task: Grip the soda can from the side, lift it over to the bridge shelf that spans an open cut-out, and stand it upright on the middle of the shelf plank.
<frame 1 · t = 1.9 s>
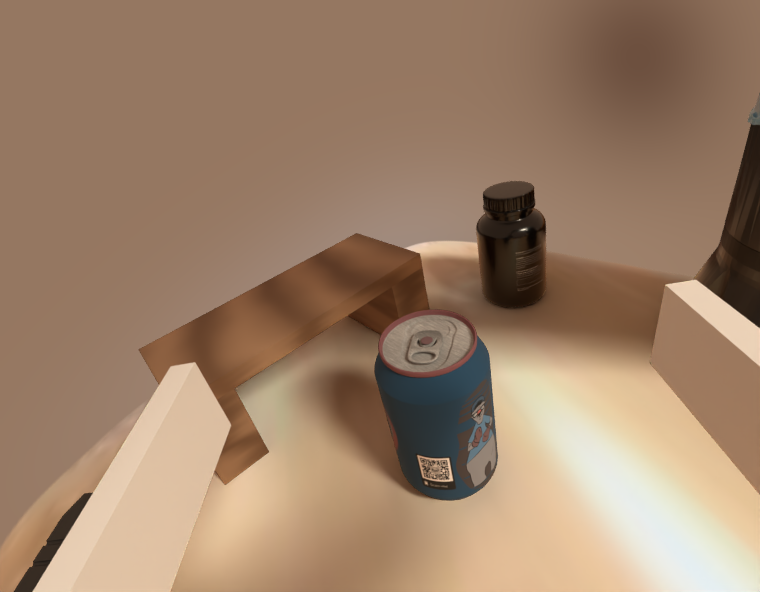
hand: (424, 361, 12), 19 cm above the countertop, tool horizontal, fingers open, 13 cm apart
soda can: (449, 465, 31), on the countertop
bridge shelf: (315, 371, 42), on the countertop
supplement bottle: (513, 293, 47), on the countertop
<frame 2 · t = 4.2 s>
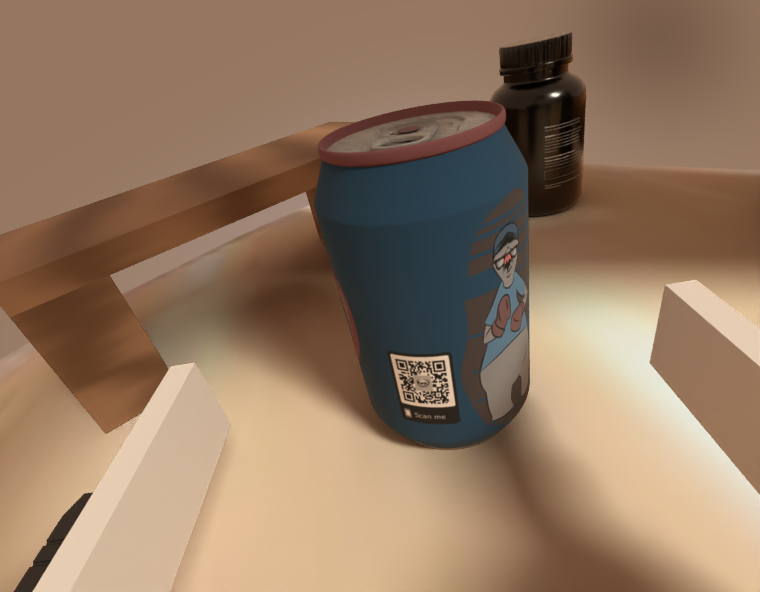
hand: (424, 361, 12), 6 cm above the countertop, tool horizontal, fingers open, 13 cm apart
soda can: (449, 400, 19), on the countertop
bridge shelf: (266, 295, 31), on the countertop
supplement bottle: (535, 204, 35), on the countertop
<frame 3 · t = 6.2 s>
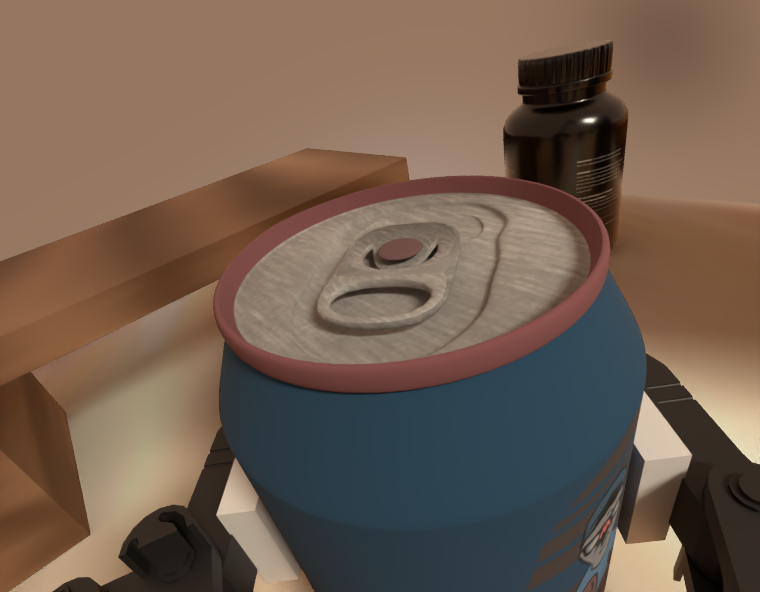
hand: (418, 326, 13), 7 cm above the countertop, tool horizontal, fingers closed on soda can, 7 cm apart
bridge shelf: (225, 371, 24), on the countertop
supplement bottle: (558, 247, 29), on the countertop
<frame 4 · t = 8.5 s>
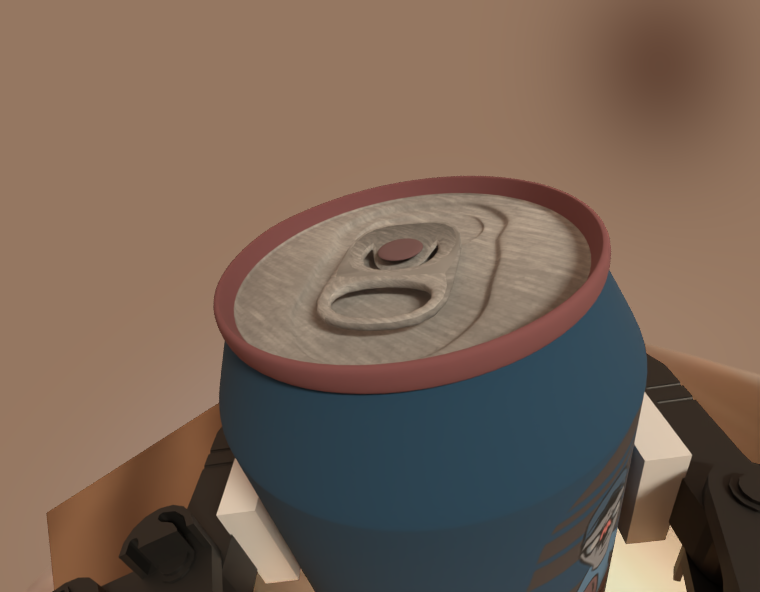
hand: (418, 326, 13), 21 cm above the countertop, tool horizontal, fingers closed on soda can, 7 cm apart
bridge shelf: (299, 509, 32), on the countertop
when the fingers open (17 cm above the countertop, at t = 10.9 s): soda can drops 1 cm, resting on bridge shelf.
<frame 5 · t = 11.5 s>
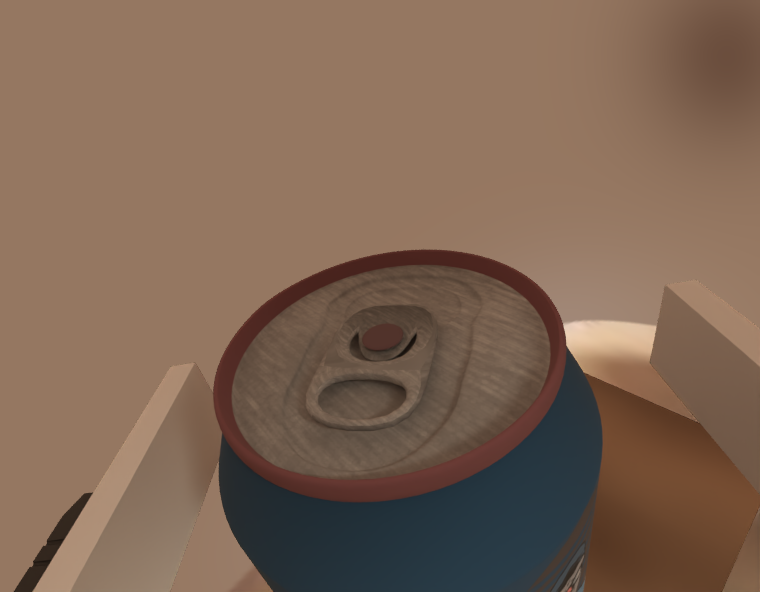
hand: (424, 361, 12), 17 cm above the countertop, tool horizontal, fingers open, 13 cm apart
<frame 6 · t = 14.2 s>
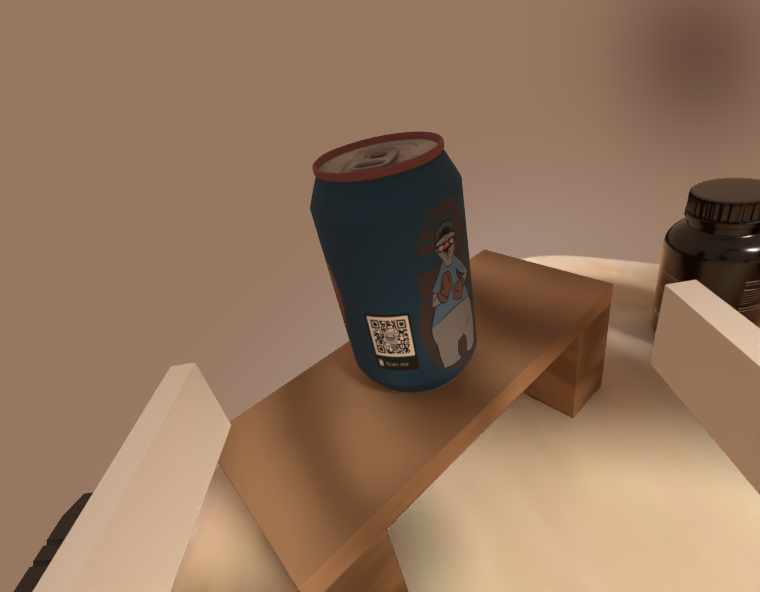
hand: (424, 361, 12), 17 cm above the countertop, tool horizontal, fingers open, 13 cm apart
soda can: (418, 361, 24), point 9 cm above the countertop, touching bridge shelf
bridge shelf: (443, 451, 29), on the countertop
supplement bottle: (698, 333, 34), on the countertop
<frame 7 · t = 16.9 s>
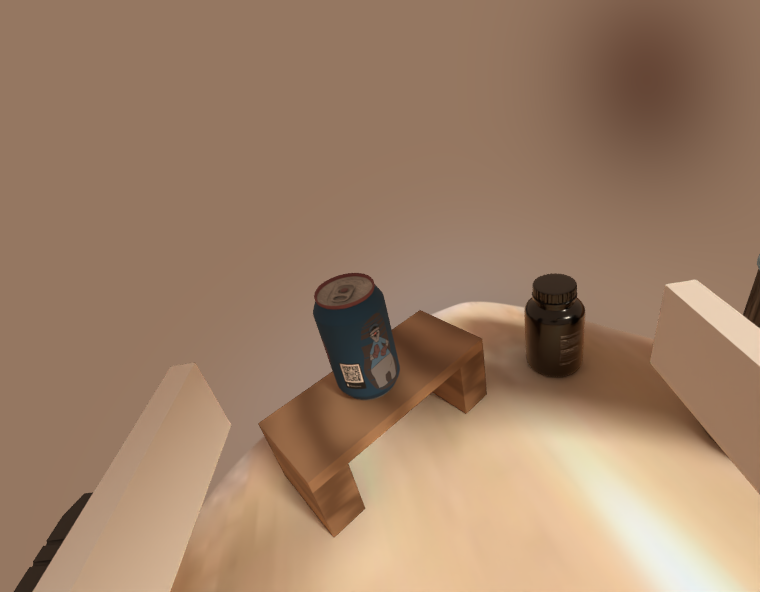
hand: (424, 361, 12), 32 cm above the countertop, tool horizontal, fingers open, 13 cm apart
soda can: (370, 382, 45), point 9 cm above the countertop, touching bridge shelf
bridge shelf: (390, 433, 50), on the countertop
supplement bottle: (552, 361, 55), on the countertop
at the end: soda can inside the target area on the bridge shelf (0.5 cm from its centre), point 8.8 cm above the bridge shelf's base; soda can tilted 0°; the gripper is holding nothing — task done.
